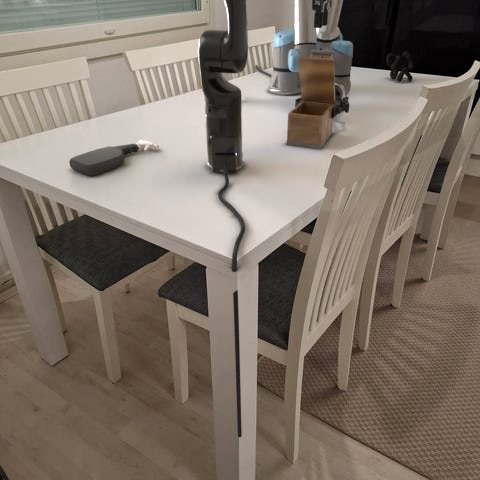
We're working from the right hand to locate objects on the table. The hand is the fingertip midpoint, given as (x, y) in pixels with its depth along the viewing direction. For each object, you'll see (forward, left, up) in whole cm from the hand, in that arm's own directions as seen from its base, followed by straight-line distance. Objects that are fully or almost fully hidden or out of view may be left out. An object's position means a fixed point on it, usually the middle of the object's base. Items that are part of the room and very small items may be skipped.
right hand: (315, 112), depth 136 cm
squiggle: (-70, +51, -7) cm, 87 cm away
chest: (+4, -2, -7) cm, 8 cm away
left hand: (+1, 0, +24) cm, 24 cm away
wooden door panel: (+1, 0, +9) cm, 9 cm away
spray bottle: (+16, -58, -7) cm, 61 cm away
